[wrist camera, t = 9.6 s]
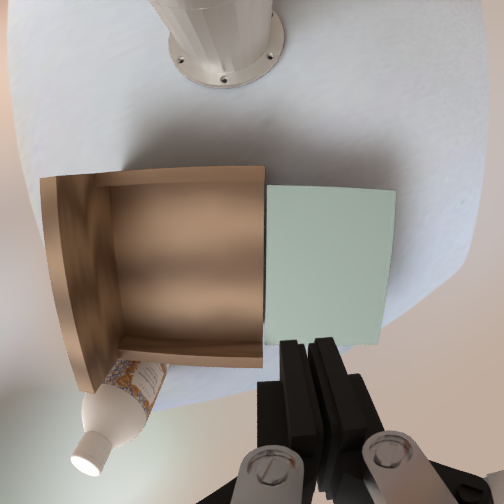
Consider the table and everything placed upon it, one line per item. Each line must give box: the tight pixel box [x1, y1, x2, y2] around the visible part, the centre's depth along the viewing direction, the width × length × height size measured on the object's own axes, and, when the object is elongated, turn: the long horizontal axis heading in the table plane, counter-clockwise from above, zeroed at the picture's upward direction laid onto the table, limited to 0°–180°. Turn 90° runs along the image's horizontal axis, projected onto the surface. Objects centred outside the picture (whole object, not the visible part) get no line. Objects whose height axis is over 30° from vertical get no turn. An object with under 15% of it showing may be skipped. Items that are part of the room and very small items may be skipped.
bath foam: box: [71, 359, 170, 476], centre depth 29 cm, size 7×7×20 cm
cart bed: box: [40, 166, 265, 394], centre depth 28 cm, size 18×16×15 cm
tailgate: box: [265, 185, 396, 346], centre depth 28 cm, size 15×2×11 cm
